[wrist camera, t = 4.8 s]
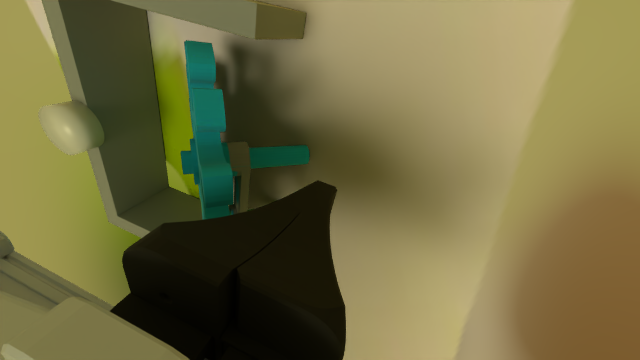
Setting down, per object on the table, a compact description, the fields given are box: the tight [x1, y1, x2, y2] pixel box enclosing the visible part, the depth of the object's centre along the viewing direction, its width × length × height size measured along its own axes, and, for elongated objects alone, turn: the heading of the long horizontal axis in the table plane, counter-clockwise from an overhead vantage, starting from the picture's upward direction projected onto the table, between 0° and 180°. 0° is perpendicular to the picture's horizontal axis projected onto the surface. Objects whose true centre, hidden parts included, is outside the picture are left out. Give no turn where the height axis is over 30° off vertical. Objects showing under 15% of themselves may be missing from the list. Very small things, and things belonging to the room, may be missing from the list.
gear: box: [181, 40, 310, 220], centre depth 13 cm, size 11×6×10 cm
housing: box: [39, 0, 306, 238], centre depth 14 cm, size 14×11×5 cm
